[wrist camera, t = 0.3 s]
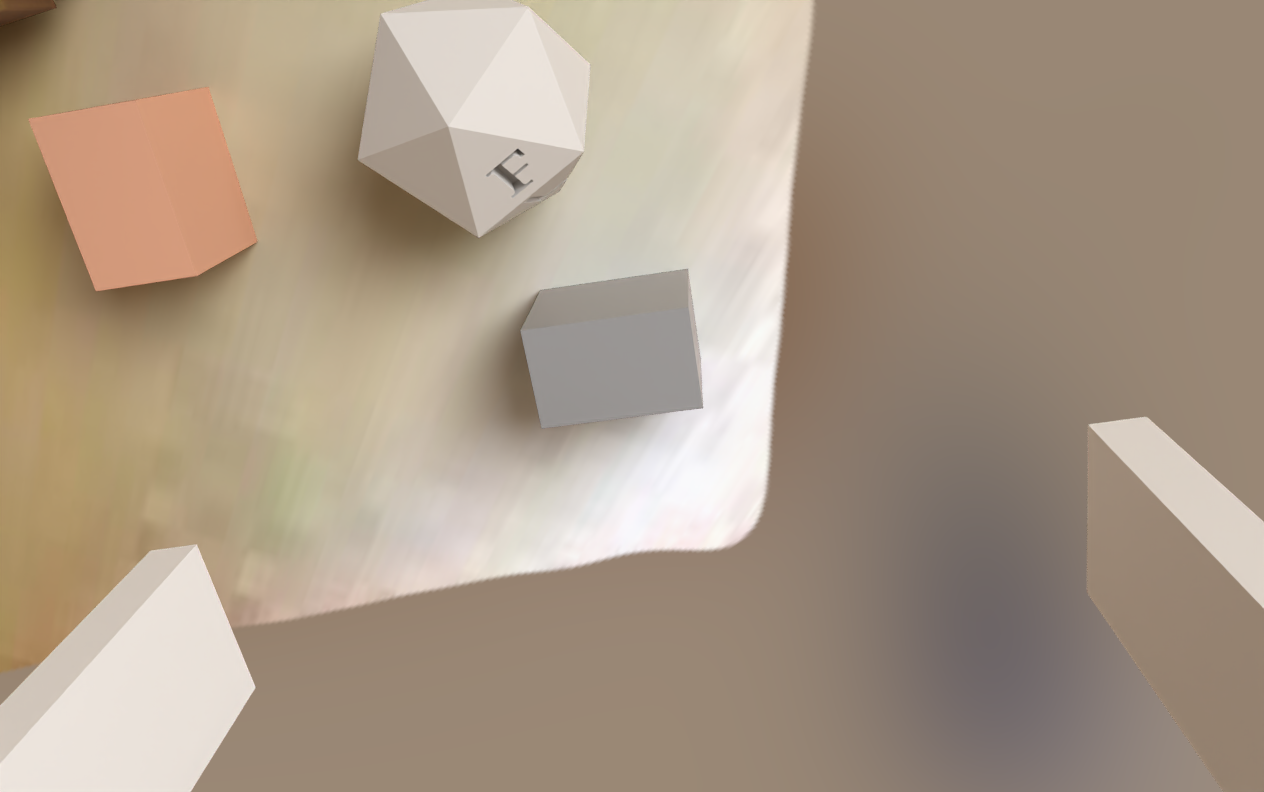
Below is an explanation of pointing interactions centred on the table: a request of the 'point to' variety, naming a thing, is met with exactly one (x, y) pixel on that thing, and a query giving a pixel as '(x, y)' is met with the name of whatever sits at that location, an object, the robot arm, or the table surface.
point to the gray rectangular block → (614, 349)
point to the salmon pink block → (146, 187)
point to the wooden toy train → (22, 9)
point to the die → (474, 108)
